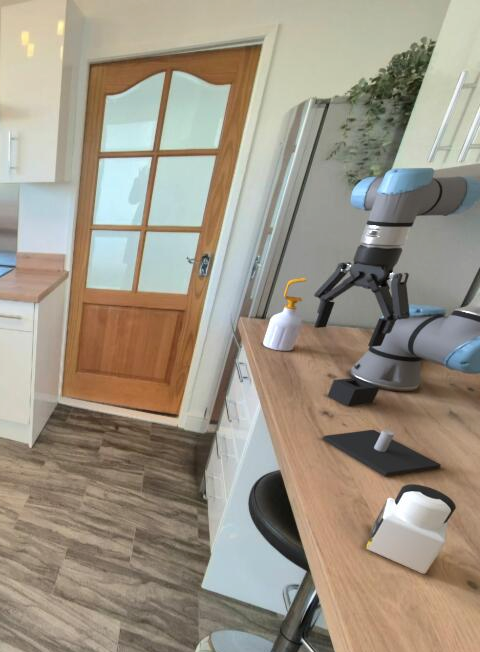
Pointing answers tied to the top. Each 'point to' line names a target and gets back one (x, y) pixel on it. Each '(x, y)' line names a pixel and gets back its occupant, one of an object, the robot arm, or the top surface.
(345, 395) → the socket block
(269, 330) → the soap bottle
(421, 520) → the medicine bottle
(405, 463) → the base pad
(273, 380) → the top surface
